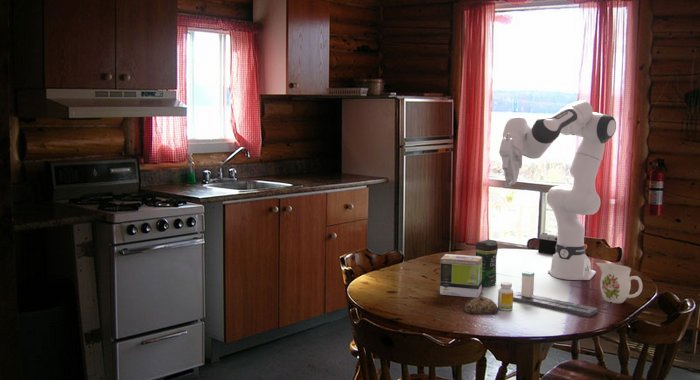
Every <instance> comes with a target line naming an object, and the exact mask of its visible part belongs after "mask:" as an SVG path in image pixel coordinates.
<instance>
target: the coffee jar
mask: <svg viewBox="0 0 700 380" xmlns="http://www.w3.org/2000/svg"><path fill="white" fill-rule="evenodd" d="M498 246H499V244H498V242H497V240H493V239H485V240H481V241H477V242H475V247H474V252H475V256H481V257H482V286H481V287H491V286H493V285H496V284H497V257H498V256H497V255H498V249H499V247H498Z"/></svg>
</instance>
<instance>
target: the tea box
mask: <svg viewBox="0 0 700 380" xmlns="http://www.w3.org/2000/svg"><path fill="white" fill-rule="evenodd" d="M439 269H440V275H439V276H440V277H439V295H444V296H452V297H453V296H454V297H455V296H456V297H464V298H473V299H474V298H479V297H480V295H481V293H482V287H483V286H482V257H481V256H476V255H468V254H467V255H466V254H452V253H451V254H450V253H445V254H444V255H443V256H442V257H441V258H440V268H439Z"/></svg>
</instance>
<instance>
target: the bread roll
mask: <svg viewBox="0 0 700 380" xmlns="http://www.w3.org/2000/svg"><path fill="white" fill-rule="evenodd" d="M463 312H465V313H469V314H475V315H495V314H498V312H499V309H498V304H496V302H494V301H493V300H492V299H490V298H489V297H485V296H478V298H473V299H471V300H469V301H467V302H466V303H465V305H464V308H463Z"/></svg>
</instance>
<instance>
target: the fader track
mask: <svg viewBox="0 0 700 380" xmlns="http://www.w3.org/2000/svg"><path fill="white" fill-rule="evenodd" d="M513 302H517V303H521V304H527V305H530V306H535V307H539V306H540V308H544V307H545V308H544V309H548V308H549V309H550V310H554V311H558V312H563V313H568V314H572V315H578V316H581V317H585V316H586V318H590V317H592V316H594V315H595V314H597V313H598V310H599V309H598V307H592V306H588V305H583V304H579V303H574V302H570V301H563V300H558V299H556V298H555V299H554V298H549V297H544V296H539V295H535V294H533V296H532V297H525V296H521V292H520V291H516V292H513Z"/></svg>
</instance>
